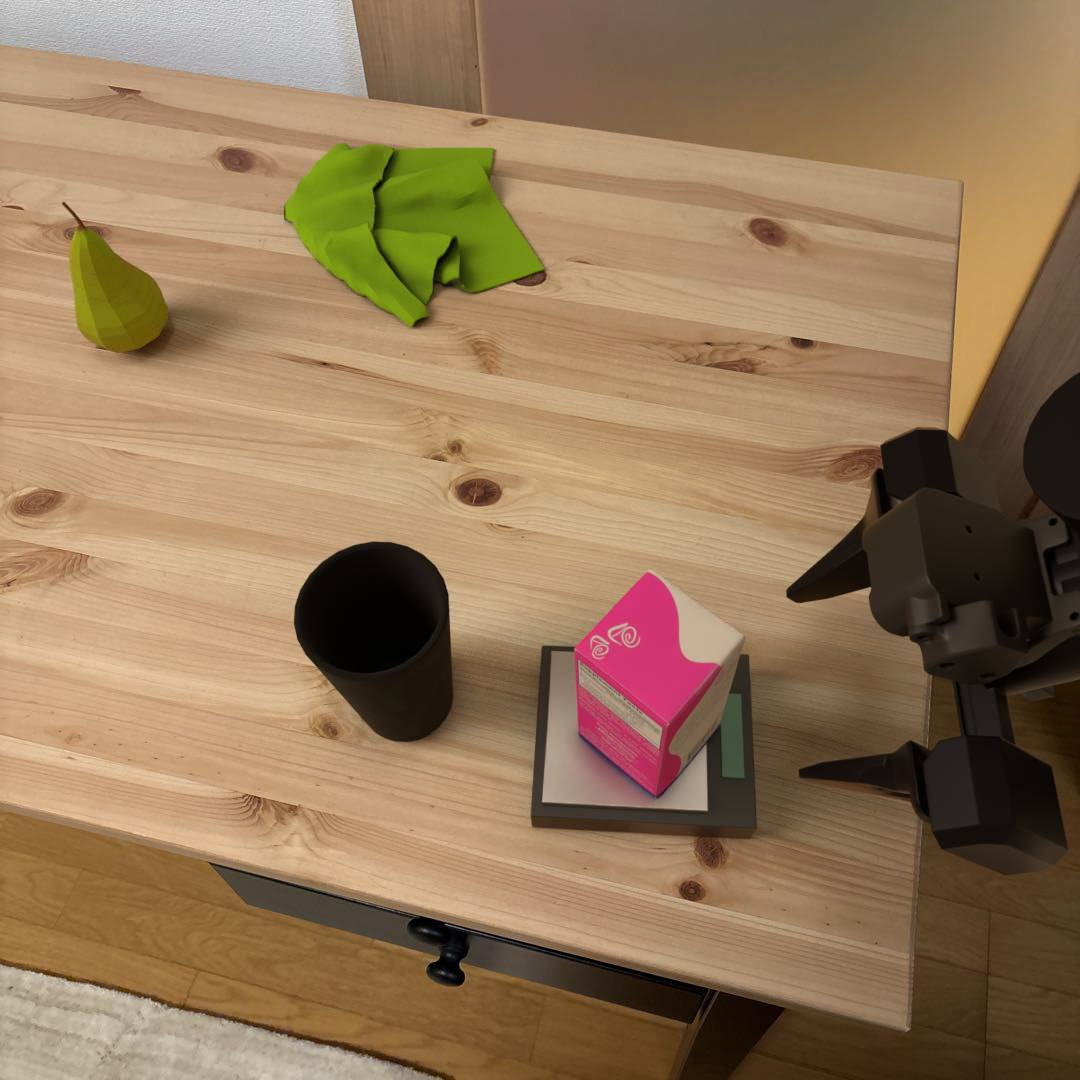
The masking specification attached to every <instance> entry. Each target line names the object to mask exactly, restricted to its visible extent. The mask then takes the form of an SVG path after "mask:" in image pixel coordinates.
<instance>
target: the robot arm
mask: <svg viewBox="0 0 1080 1080" xmlns="http://www.w3.org/2000/svg"><path fill="white" fill-rule="evenodd" d="M1026 433H1027V434H1026V436H1025V440H1024V443H1023V451H1022V467H1023V473H1024V476H1025V480H1026V481H1027V483H1028V485H1029V487H1030V489H1031V490H1032V492H1033V494H1034V496H1036V497H1037V498H1038V499H1039V500H1040V501H1041V502H1042V503H1043V504H1044V505H1045V506H1046V507H1047V508H1048V509H1049V510H1050V511H1052V512H1050V513H1047V514H1044V515H1042V516H1039V517H1036V518H1021V519H1009V518H1008V517H1007V516H1006V515H1005V514H1004V513H1002V511H1001V506H1000V502H999V496H998V492H997V486H996V482H995V481H996V480H995V476H994V471H993V470H992V468H990V467H989V466H988V465H987V464H985V463H984V462H983V461H982V460H981V459H980V458H978V456H976V455H975V454H974V453H973V452H972V451H970V449H968V448H967V447H966V446H965V444H963V443H962V442H960V441H959V440H958V439H957V438H956V437H954V435H952V434H951V433H950V432H949V431H948V430H947V429H943V428H940V427H932V426H931V427H930V426H916V427H914V428H911V429H909V430H906V431H904V432H902V433H900V434H898V435H896V436H894V437H893V436H892V437H891V438H889V439H886V440H885V441H883V442H882V443H881V444H880V445H879V447H880V454H881V455H880V456H881V463H882V467H877V468H876V469H875V470H874V471H873V473H871V476H870V484H871V486H870V488H871V489H870V493H869V497H868V500H867V504H866V508H865V512H864V514H863V516H862V517H861V519H860V520H859V521H858V522H857V523H856V524H855V526H854V527H852V528H851V530H849V532H848V533H847V534H846V535H845V536H844V537H843V538H842V539H841V540H840V541H838V543H836V545H834V546H833V547H832V548H831V549H830V550H829V551H827V552H826V553H825V554H824V555H823V556H822V557H821V558H820V559H818V560H817V562H815V563H814V564H813V565H812V566H811V567H810V568H809V569H807V570H806V571H805V572H804V573H802V574H801V575H800V576H799V577H798V578H797V579H796V580H795V581H794V582H793V583H791V584H790V585H789V586H788V587H787V588H786V589H785V595H786V598H787V599H788V600H790V601H792V602H794V603H795V604H804V603H810V602H817V601H823V600H829V599H832V598H833V599H834V598H836V597H839V596H840V597H841V596H843V595H847V594H850V593H854V592H858V591H862V590H865V589H870V591H869V594H868V603H869V608H870V612H871V615H872V617H873V619H874V620H875V622H876V623H877V625H878V626H880V628H881V629H883V630H884V631H885V632H887V633H889V634H891V635H894V636H898V637H902V638H904V637H905V638H906V637H909V641H910V642H912V643H915V644H917V645H918V646H919V649H920V652H921V657H922V663H923V665H922V666H923V671H924V673H927V675H930V676H933V677H937V678H942V679H944V680H949V681H952V687H953V693H954V700H955V707H956V714H957V719H958V725H959V727H958V728H959V732H960V735H959V736H954V737H950V738H946V739H945V738H944V739H941V740H938V742H937V743H936V744H935V745H934V747H933V749H929V748H928V747H925V746H924V745H922V744H920V743H918V742H916V741H914V740H913V739H910V740H907V741H906V742H904V743H903V744H902V745H900V746H899V747H898V748H897V749H896V750H895V751H893V752H888V753H879V754H871V755H865V756H864V755H863V756H857V757H849V758H841V759H834V760H826V761H821V762H818V763H817V762H816V763H814V764H811V765H808V766H805V767H801V768H799V769H798V778H799V779H800V780H803V781H805V782H808V783H810V784H815V785H821V786H825V787H830V788H834V789H835V788H837V789H842V790H847V791H851V792H858V793H862V794H868V795H874V796H878V797H884V798H888V799H889V798H890V799H892V800H893V799H894V800H898V801H903V802H907V803H911V807H912V810H913V811H914V813H915V815H916V816H917V818H919V820H921V821H923V822H924V823H927V824H929V825H930V828H931V833H932V835H933V836H934V838H935V840H936V842H937V844H938V846H939V847H940V849H941V850H942V851H944V852H947V853H949V854H952V855H954V856H956V857H959V858H961V859H964V860H966V861H969V862H971V863H974V864H976V865H979V866H981V867H984V868H986V869H988V870H991V871H993V872H996V873H999V874H1001V875H1004V876H1011V875H1020V874H1028V873H1038V872H1046V871H1048V870H1050V869H1051V868H1053V867H1055V866H1056V865H1057V863H1058V862H1059V861H1060V860H1062V858H1063V857H1064V856H1065V855H1066V854H1067V853H1068V852H1069V847H1068V841H1067V836H1066V831H1065V826H1064V822H1063V821H1064V820H1063V816H1062V811H1061V807H1060V802H1059V796H1058V791H1057V787H1056V782H1055V776H1054V771H1053V767H1052V765H1051V764H1049V763H1048V762H1045V761H1044V760H1042V759H1040V758H1039V757H1037V756H1035V755H1034V754H1032V753H1030V752H1028V751H1026V750H1024V749H1023V748H1021V747H1020V746H1017V745H1016V740H1015V735H1014V729H1013V724H1012V719H1011V712H1010V708H1009V702H1008V697H1009V696H1013V695H1019V696H1020V697H1021V698H1024V699H1025V700H1027V701H1028V702H1030V703H1033V702H1037V701H1041V700H1045V699H1046V700H1047V699H1050V698H1054V697H1055V692H1054V691H1055V690H1054V686H1056V685H1061V684H1066V683H1070V682H1074V681H1078V680H1080V371H1079V372H1077V373H1076V374H1073V375H1072V376H1071V377H1070V378H1069V379H1067V380H1066V381H1064V382H1063V383H1062V384H1061V385H1059V387H1057V388H1056V389H1055V390H1054V391H1053V392H1052V393H1051V394H1050V395H1049V397H1047V399H1046V400H1045V401H1044V403H1042V405H1041V406H1040V407H1039V409H1038V410H1037V412H1036V414H1035V416H1034V418H1033V419H1032V421H1031V423H1030V424H1029V426H1028V430H1027V432H1026Z"/></svg>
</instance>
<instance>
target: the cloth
mask: <svg viewBox="0 0 1080 1080" xmlns="http://www.w3.org/2000/svg"><path fill="white" fill-rule="evenodd" d="M494 151H495V149H494V147H419V148H395V147H392V146H388V145H384V144H378V143H367V144H365V145H362V146H359V147H356V148H352V147H351V146H350V145H349V144H348V143H347V142H343V143H342V142H341V143H340V142H339V143H336V144H335V145H333V146H332V147H331V148H330V149H329V150H328V151H327V152H326V153H325V154H323V156H322V157H320V158H319V159H318V160H317V161H315V163H313V165H312V167H311V169H310V171H309V172H308V173H307V174H306V175H304V176H303V177H302V178H301V179H300V181H298V183H297V186H296V188H295V189H294V191H293V192H292V194H291V195H290V197H289V198H288V200H287V201H286V202H285V203H284V205H283V220H284V221H286V222H287V221H288V222H291V223H292V224H293V227H294V230H295V231H296V233H297V234H298V237H299V239H300V241H301V242H302V244H303V246H304V247H305V248H306V249H307V250H308V251H309V253H310V254H311V255H312V257H313V258H314V259H315V260H316V261H317V262H318V264H320V265H321V266H322V267H324V268H326V270H327V271H328V272H329V273H330V274H331V275H332V276H333V277H334V278H336V279H338V280H339V281H341V282H343V283H344V284H345V285H346V287H348V288H349V289H350V290H351V291H352V292H353V293H355V294H357V295H359V296H361V297H364V298H365V299H368V300H369V301H370V302H371V303H372V304H374V306H376V307H377V308H379V309H380V310H382V311H384V312H386V313H388V314H391V315H394V316H396V317H398V319H400V320H401V321H402V322H403V323H404V324H405V325H407V327H409V328H412V327H413V326H414V324H415V323H416V322H417V321H418V320H420V319H423V318H429V317H430V314H429V312H428V309H427V305H428V303H429V301H430V299H431V297H432V295H433V293H434V281H435V282H438V283H441V284H443V285H444V286H445V285H446V286H447V285H453V286H454V287H455V288H456V289H457V290H460V291H464V292H466V293H479V292H480V293H481V292H483V291H487V290H489V289H494V288H495V287H499V286H502V285H505V284H508V283H511V282H514V281H517V280H520V279H523V278H526V277H529V276H532V275H534V274H537V273H540V272H543V271H545V268H544V266H543V265H542V263H541V262H540V259H539V258H538V256H537V255H536V254H535V252H534V251H533V249H532V248H531V246H530V245H529V243H528V242H527V241H526V238H524V236H523V234H522V233H521V232H520V231H521V230H519V228H518V227H517V225H516V224H515V222H514V220H513V219H512V218H511V217H510V215H509V213H508V211H507V210H506V209H505V208H504V206H503V205H502V203H501V202H500V200H499V198H498V196H497V195H496V192H495V191H494V189H493V186H492V185H491V182H490V177H491V173H492V166H493V160H494V159H493V158H494Z"/></svg>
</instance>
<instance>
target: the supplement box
mask: <svg viewBox="0 0 1080 1080" xmlns="http://www.w3.org/2000/svg"><path fill="white" fill-rule="evenodd" d="M745 640H746V636H745V635H744V634H743V633H742V632H740V631H739V630H737V629H736V628H735V627H733V626H732V625H730V624H729V623H727V622H726V621H724V620H723V619H721V617H719V616H717V615H716V614H715V613H713V612H711V611H710V610H709V609H707V608H706V607H704V606H703V605H702V604H700V603H699V602H698V601H696V600H695V599H693V598H692V597H691V596H690V595H688V594H687V593H686V592H684V591H683V590H682V589H680V588H678V587H677V586H676V585H674V584H673V583H672V582H670V581H669V580H667V579H666V578H665V577H663V576H662V575H660V574H659V573H658V572H656V571H655V570H654V569H652V568H649V569H648V570H647V571H646V572H645V573H644V574H643V575H642V576H641V577H640V578H639V579H638V580H636V582H635V583H634V585H632V586H631V588H630V589H629V590H627V592H626V593H625V594H624V595H623V596H622V597H621V598H620V599H619V600H618V601H617V602H616V604H614V605H613V606H612V608H611V609H610V610H609V611H608V612H607V613H606V614H605V615H604V616H603V617H602V618H601V619H600V620H599V622H597V624H596V625H594V627H593V628H592V629H591V630H590V631H589V632H588V633H587V634H586V635H585V636H584V638H583V639H581V641H579V643H578V644H577V645H576V646H574V647H575V649H574V654H575V673H576V692H577V713H578V733H579V735H580V736H582V737H583V738H584V739H585V740H586V741H588V742H589V743H590V744H591V745H592V746H593V747H595V748H596V749H597V750H598V751H599V752H601V753H602V754H603V755H604V756H605V757H606V758H608V759H609V760H610V761H611V762H612V763H613V764H615V765H616V766H617V767H618V768H619V769H620V770H622V771H623V772H624V773H625V774H626V775H627V776H629V777H630V778H631V779H632V780H633V781H635V782H636V783H637V784H638V785H639V786H641V787H642V788H643V789H644V790H645V791H647V792H648V793H649V794H650V795H652V796H653V797H654V798H656V799H657V798H659V797H660V796H661V795H662V794H663V793H664V792H665V791H666V790H667V789H668V787H669V786H670V785H671V784H672V783H673V782H674V781H675V779H676V778H677V777H678V776H679V775H680V774H681V772H682V771H683V770H684V769H685V768H686V767H687V765H688V764H689V763H690V762H691V761H692V759H693V758H694V757H695V756H696V755H697V754H698V752H699V751H700V750H701V749H702V747H703V746H704V745H705V744H706V743H707V741H708V740H709V739H710V738H711V736H712V735H713V734H714V733H715V731H716V730H717V729H718V728H719V727H720V725H721V719H722V715H723V711H724V708H725V704H726V701H727V697H728V694H729V691H730V688H731V684H732V681H733V678H734V674H735V671H736V668H737V664H738V660H739V657H740V654H742V650H743V647H744V644H745Z"/></svg>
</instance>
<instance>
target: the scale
mask: <svg viewBox="0 0 1080 1080" xmlns="http://www.w3.org/2000/svg"><path fill="white" fill-rule="evenodd" d="M575 647H576V646H567V645H566V646H565V645H549V644H548V645H546V644H545V645H541V650H540V651H541V653H540V665H539V667H540V669H539V681H538V683H539V684H538V697H537V713H536V725H535V726H536V728H535V740H534V755H533V757H534V758H533V772H532V788H531V800H530V802H531V803H530V822H531V827H532V828H537V829H539V828H540V829H557V830H574V831H575V830H576V831H592V832H593V831H594V832H610V833H629V834H630V833H632V834H645V835H646V834H647V835H648V834H650V835H665V836H666V835H667V836H684V837H702V838H703V837H704V838H720V839H740V840H751V838H752V836H753V835H754V834H755V832H756V830H757V828H758V818H757V798H756V797H757V796H756V776H755V775H756V773H755V772H756V771H755V757H754V756H755V754H754V732H753V712H752V711H753V710H752V690H751V686H752V685H751V669H750V668H751V667H750V666H751V665H750V664H751V663H750V655H749V654H748V653H747V654H746V653H741V654H740V657H739V660H738V664H737V668H736V671H735V674H734V678H733V681H732V684H731V688H730V691H729V694H728V697H727V701H726V704H725V708H724V711H723V715H722V719H721V725H720V727H719V728H718V729H717V730H716V731H715V733H714V734H713V735H712V736H711V738H710V739H709V740H708V741H707V743H706V744H705V745H704V746H703V747H702V749H701V750H700V751H699V752H698V754H697V755H696V756H695V757H694V758H693V759H692V761H691V762H690V763H689V764H688V765H687V767H686V768H685V769H684V770H683V771H682V772H681V774H680V775H679V776H678V777H677V778H676V779H675V781H674V782H673V783H672V784H671V785H670V786H669V787H668V789H667V790H666V791H665V792H664V793H663V794H662V795H661V796H660V797H659V798H657V799H656V798H654V797H653V796H652V795H650V794H649V793H648V792H647V791H645V790H644V789H643V788H642V787H641V786H639V785H638V784H637V783H636V782H635V781H633V780H632V779H631V778H630V777H629V776H627V775H626V774H625V773H624V772H623V771H622V770H620V769H619V768H618V767H617V766H616V765H615V764H613V763H612V762H611V761H610V760H609V759H608V758H606V757H605V756H604V755H603V754H602V753H601V752H599V751H598V750H597V749H596V748H595V747H593V746H592V745H591V744H590V743H589V742H588V741H586V740H585V739H584V738H583V737H582V736H580V735H579V733H578V713H577V692H576V673H575V654H574V649H575Z"/></svg>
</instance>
